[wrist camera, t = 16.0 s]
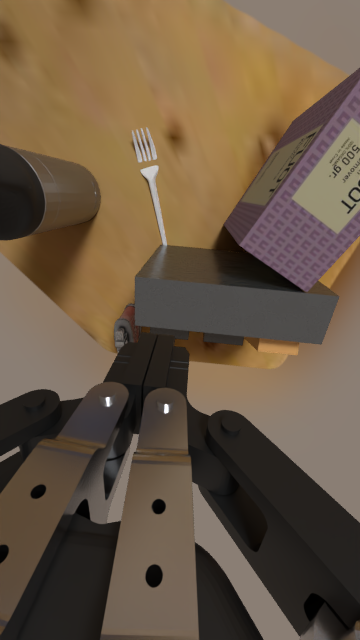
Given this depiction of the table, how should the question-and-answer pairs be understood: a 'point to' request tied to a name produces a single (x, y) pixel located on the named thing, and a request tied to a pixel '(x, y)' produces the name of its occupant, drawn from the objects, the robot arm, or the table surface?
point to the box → (307, 191)
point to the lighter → (126, 328)
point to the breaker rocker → (274, 345)
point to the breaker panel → (227, 298)
